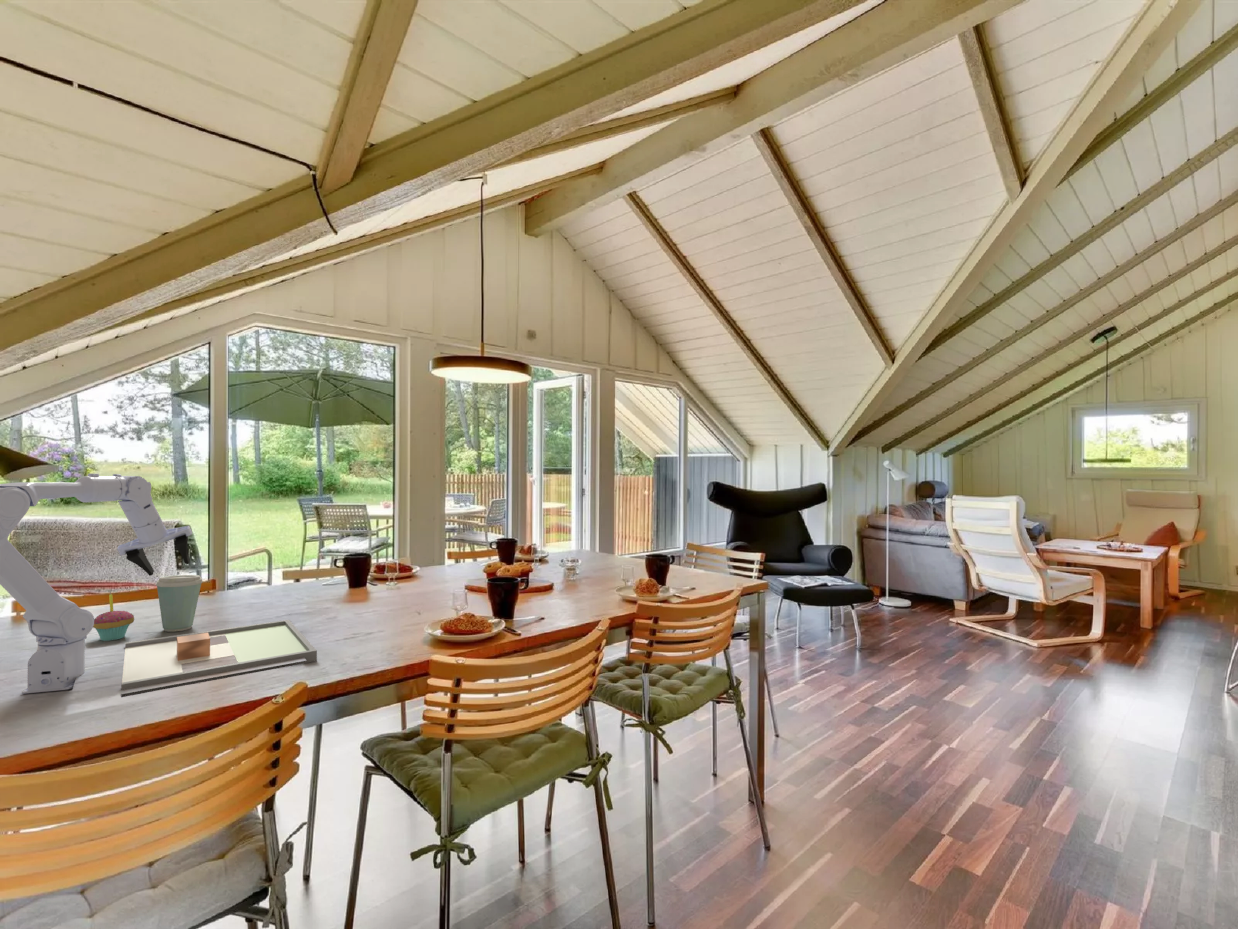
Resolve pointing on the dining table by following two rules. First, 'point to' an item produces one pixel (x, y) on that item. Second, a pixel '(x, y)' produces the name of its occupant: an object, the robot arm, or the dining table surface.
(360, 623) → the dining table surface
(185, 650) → the block
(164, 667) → the sectioned serving tray
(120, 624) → the cupcake
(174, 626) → the disposable coffee cup
